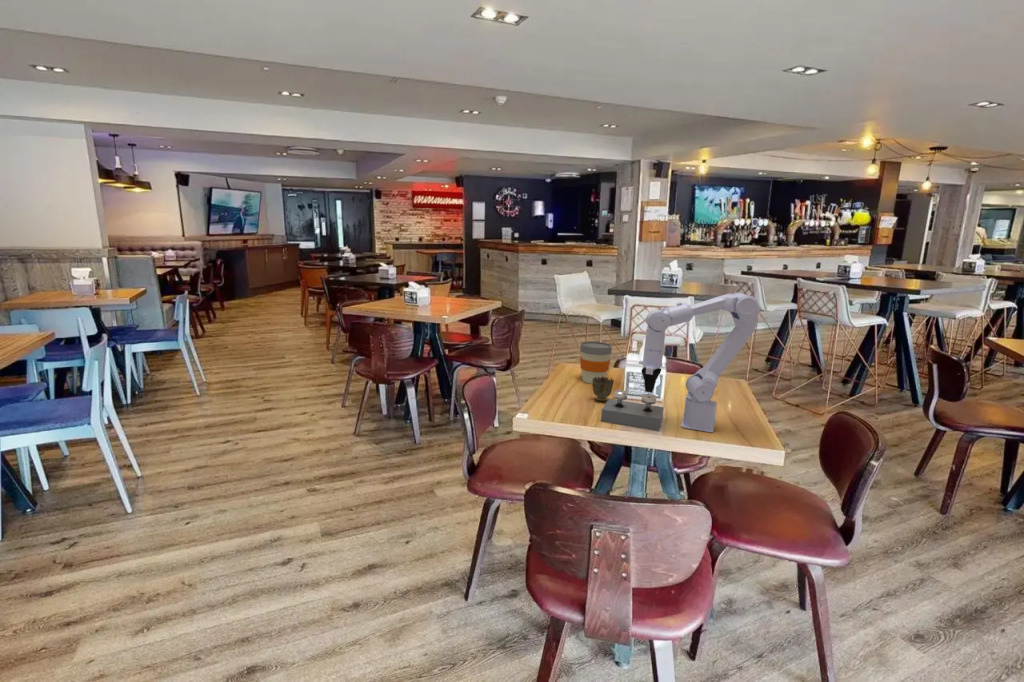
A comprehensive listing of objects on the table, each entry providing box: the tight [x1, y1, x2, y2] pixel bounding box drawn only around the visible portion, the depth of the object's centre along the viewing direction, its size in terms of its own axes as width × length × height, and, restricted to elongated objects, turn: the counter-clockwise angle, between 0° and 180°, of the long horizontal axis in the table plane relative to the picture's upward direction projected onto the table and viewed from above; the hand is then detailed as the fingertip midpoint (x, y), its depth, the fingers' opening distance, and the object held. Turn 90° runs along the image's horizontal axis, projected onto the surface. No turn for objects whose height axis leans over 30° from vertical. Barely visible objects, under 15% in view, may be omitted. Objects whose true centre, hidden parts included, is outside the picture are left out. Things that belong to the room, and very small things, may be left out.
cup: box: [592, 376, 614, 403], centre depth 185 cm, size 8×7×8 cm
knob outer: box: [612, 389, 629, 406], centre depth 168 cm, size 4×4×5 cm
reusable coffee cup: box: [579, 341, 612, 385], centre depth 209 cm, size 13×13×15 cm
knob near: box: [641, 393, 657, 411], centre depth 165 cm, size 4×4×5 cm
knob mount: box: [600, 398, 665, 432], centre depth 167 cm, size 18×12×4 cm, turn 69°
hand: (649, 391), depth 164 cm, fingers closed
